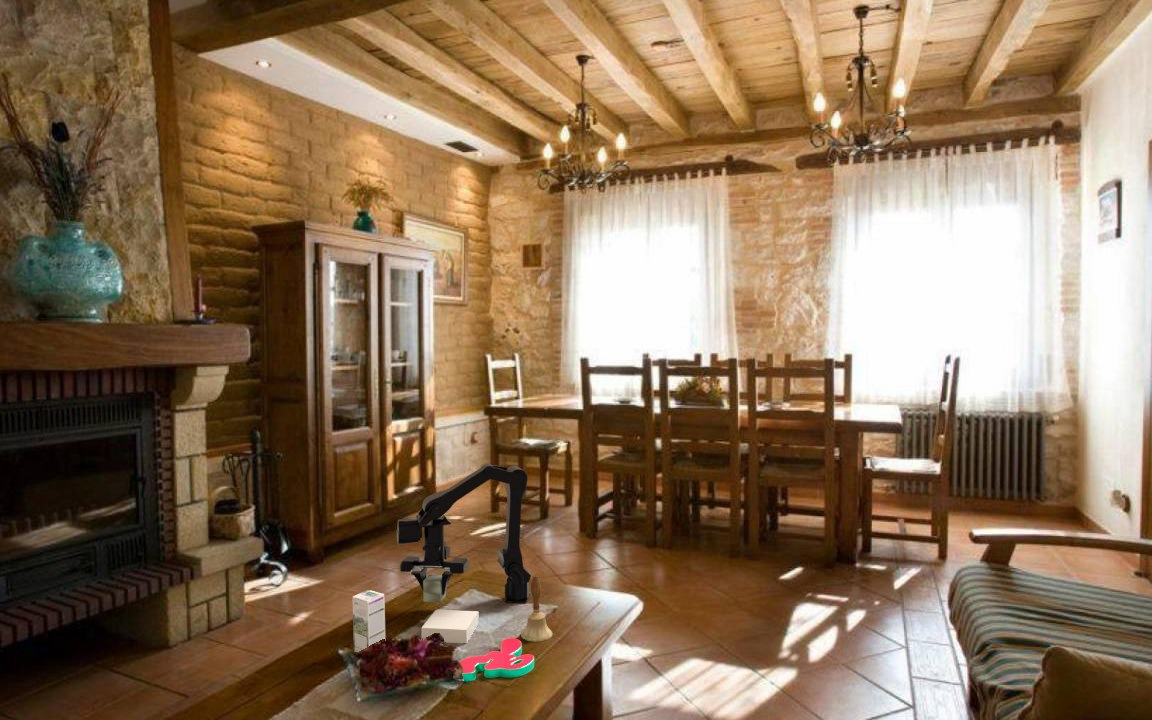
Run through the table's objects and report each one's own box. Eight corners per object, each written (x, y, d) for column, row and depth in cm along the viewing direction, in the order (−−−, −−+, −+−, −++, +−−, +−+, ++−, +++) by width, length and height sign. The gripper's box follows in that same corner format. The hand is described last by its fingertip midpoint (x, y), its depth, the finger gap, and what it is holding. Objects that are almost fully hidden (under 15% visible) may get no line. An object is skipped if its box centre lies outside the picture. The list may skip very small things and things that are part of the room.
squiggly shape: (516, 645, 178) (515, 636, 178) (542, 672, 163) (542, 662, 163) (439, 662, 168) (439, 653, 168) (460, 693, 154) (460, 682, 154)
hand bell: (548, 643, 178) (547, 581, 177) (517, 640, 179) (516, 579, 179) (555, 629, 186) (555, 571, 185) (525, 627, 188) (525, 569, 187)
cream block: (478, 625, 190) (478, 611, 190) (466, 645, 178) (466, 629, 178) (436, 623, 191) (436, 609, 191) (421, 642, 179) (421, 627, 179)
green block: (445, 595, 202) (445, 575, 201) (440, 602, 197) (440, 581, 196) (429, 595, 202) (429, 574, 202) (423, 601, 197) (423, 580, 197)
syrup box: (386, 649, 175) (385, 592, 174) (368, 658, 170) (367, 600, 169) (371, 644, 178) (370, 588, 177) (352, 653, 173) (351, 595, 172)
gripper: (473, 533, 206) (473, 585, 206) (412, 531, 208) (413, 583, 208) (462, 544, 195) (463, 599, 195) (398, 542, 197) (399, 597, 197)
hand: (434, 594), depth 199 cm, fingers closed on green block, 5 cm apart
